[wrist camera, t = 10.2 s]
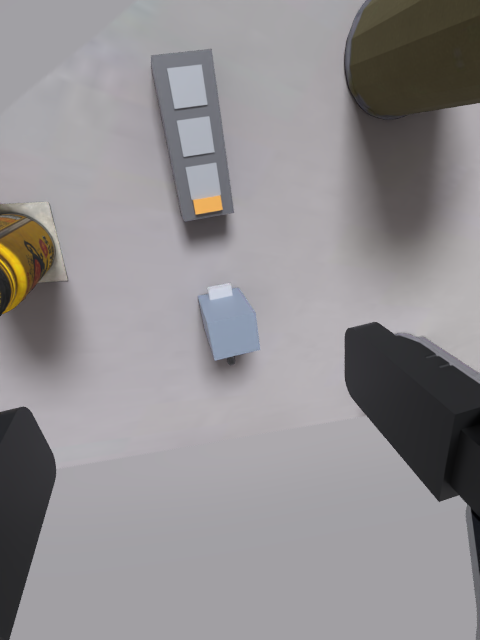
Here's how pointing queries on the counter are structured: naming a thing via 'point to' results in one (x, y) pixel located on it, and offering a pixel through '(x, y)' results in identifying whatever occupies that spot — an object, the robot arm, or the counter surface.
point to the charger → (228, 322)
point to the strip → (193, 132)
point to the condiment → (27, 251)
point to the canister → (414, 56)
